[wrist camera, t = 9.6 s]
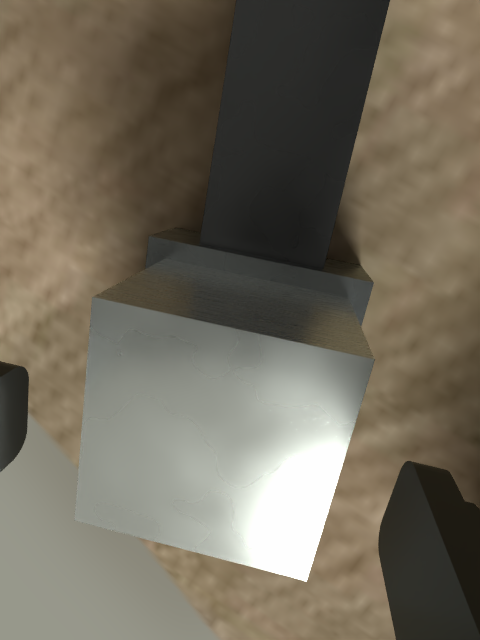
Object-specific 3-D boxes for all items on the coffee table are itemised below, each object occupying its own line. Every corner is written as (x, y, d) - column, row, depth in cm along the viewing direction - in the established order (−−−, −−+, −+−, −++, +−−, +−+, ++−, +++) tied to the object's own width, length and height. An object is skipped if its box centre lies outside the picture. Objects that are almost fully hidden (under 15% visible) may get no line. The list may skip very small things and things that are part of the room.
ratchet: (227, -165, 13) (167, -449, 7) (469, -132, 12) (616, -411, 7) (153, 391, 18) (88, 482, 13) (315, 429, 18) (322, 541, 12)
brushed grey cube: (165, 258, 14) (92, 297, 9) (348, 297, 13) (374, 359, 8) (144, 417, 15) (74, 520, 11) (304, 456, 15) (306, 581, 10)
